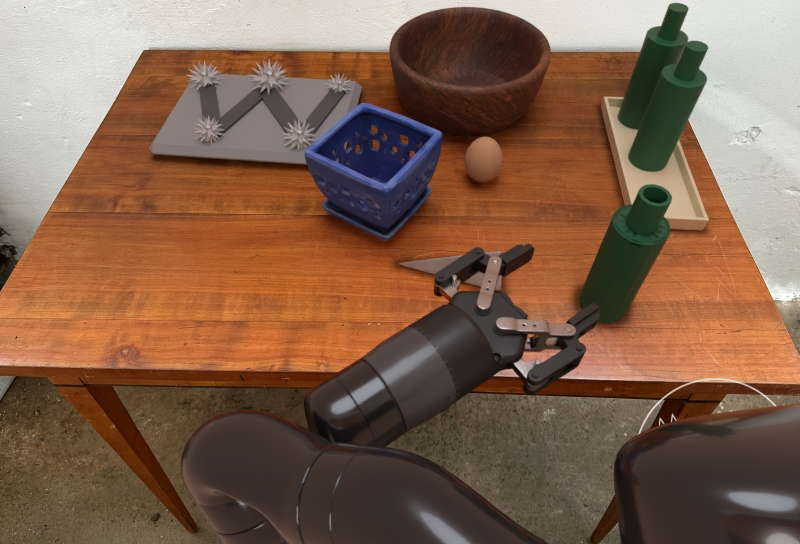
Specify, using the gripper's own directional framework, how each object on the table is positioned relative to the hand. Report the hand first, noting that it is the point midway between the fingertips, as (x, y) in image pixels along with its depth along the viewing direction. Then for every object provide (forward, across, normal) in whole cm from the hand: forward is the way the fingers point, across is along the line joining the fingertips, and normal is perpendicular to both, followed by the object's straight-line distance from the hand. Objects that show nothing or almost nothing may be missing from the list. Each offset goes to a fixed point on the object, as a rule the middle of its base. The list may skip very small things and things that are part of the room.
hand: (562, 279), depth 51 cm
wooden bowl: (+24, +42, +13) cm, 50 cm away
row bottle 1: (+43, +22, +13) cm, 49 cm away
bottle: (+11, 0, +13) cm, 17 cm away
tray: (+36, +14, +13) cm, 41 cm away
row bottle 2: (+36, +14, +13) cm, 41 cm away
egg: (+14, +26, +13) cm, 32 cm away
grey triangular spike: (-1, +14, +13) cm, 19 cm away
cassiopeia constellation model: (-6, +57, +14) cm, 59 cm away
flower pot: (-2, +29, +14) cm, 32 cm away
